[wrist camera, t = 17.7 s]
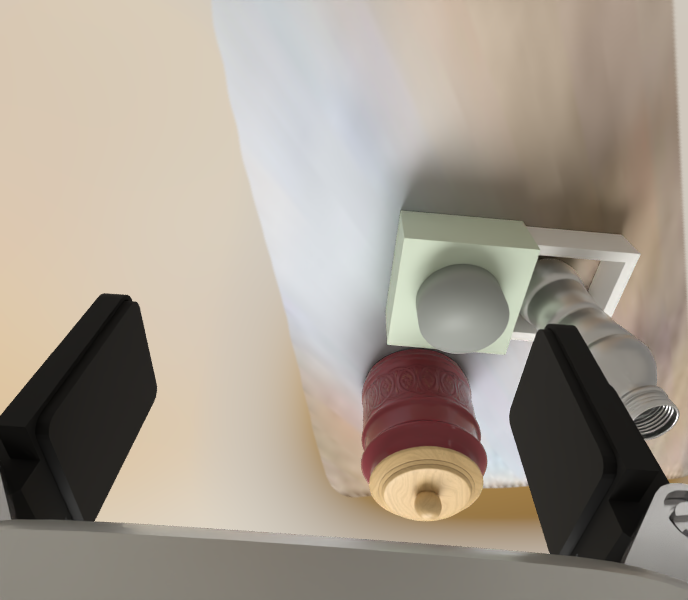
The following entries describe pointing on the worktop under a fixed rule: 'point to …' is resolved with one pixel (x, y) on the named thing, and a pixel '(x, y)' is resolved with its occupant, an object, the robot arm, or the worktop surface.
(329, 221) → the worktop surface
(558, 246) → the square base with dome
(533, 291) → the silver bottle
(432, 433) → the canister
